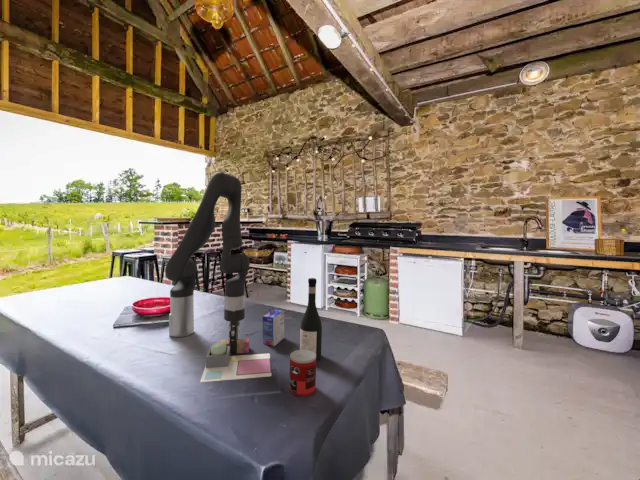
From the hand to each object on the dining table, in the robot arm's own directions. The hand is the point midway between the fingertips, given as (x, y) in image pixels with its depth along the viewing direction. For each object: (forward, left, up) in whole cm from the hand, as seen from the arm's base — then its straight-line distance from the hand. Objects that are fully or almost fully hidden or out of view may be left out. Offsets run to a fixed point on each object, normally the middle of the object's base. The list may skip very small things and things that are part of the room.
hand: (234, 350), depth 112 cm
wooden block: (0, 0, -1) cm, 1 cm away
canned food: (+22, -28, -1) cm, 36 cm away
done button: (-5, -8, +2) cm, 9 cm away
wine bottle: (+28, -8, -1) cm, 29 cm away
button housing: (-5, -8, 0) cm, 9 cm away
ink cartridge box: (+15, +8, -1) cm, 17 cm away
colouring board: (+2, -12, -1) cm, 12 cm away
